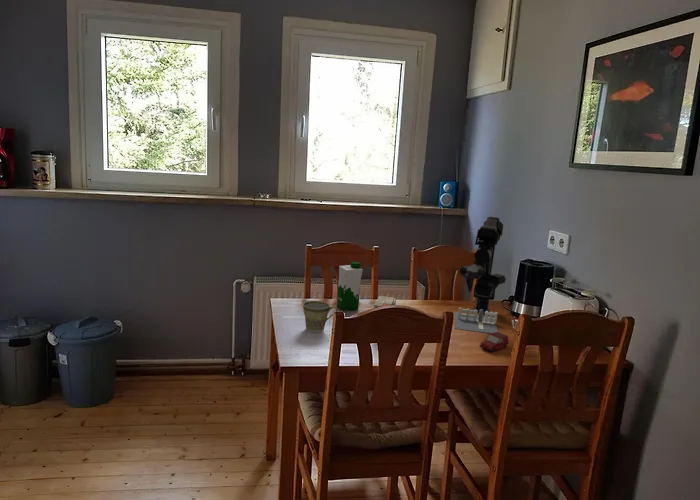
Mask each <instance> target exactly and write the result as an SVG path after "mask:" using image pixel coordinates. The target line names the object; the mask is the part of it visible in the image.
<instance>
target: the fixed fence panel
mask: <svg viewBox="0 0 700 500" xmlns="http://www.w3.org/2000/svg"><path fill="white" fill-rule="evenodd" d="M483 311H484V310H482V309H480V312H478V315H479V319H478V322H482V319H483V316H485V317H484V322H487V320H489V322H490V323H491V322H492V321H494V323H496V324H497V319H498V312H497V311H494V312H493V311H489V312H488V311H486V312H485V313H484V312H483ZM488 316H490V317H488ZM492 317H494V318H492Z"/></svg>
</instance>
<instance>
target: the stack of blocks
mask: <svg viewBox="0 0 700 500" xmlns="http://www.w3.org/2000/svg"><path fill="white" fill-rule="evenodd" d="M396 300H397V298H395V297H393V296H392V297H390V296H383V295H379V296H378V298H377V299H376V301H375V303H374V305H373V309H374V308H378V307H382V306H392V305H395V306H396V302H397V301H396Z"/></svg>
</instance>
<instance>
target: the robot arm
mask: <svg viewBox="0 0 700 500" xmlns="http://www.w3.org/2000/svg"><path fill="white" fill-rule="evenodd" d="M503 232H504V223H502V222H501V221H500V218H498V217H495V216H494V217H493V216H488V217H486V220H485V221H484V222H483V225H482V226H481V225H480V227H479V228H478V229H477V232H476V238H475V243H474V245H477V247H478V248H477V249H476V251H475V253H474V261H473V264H472V265H464V266H461V267H460V268H459V270H458V274H461V277H463V278H464V279H465V281H466V285H467V290H468V292H469V293H470V292H472V290H473V296H472V297H473V298H476V302H475V306H474V307H473V309H474V311H475V310H477V311H478V313H479V312H480V309H482V310H484V311H483V314H485V312H486V311H488V312H489V313H490V309H489V307H490V306H489V305H490V301H493V300H495V299H496V298H495V297H496V289H497V288H498V287H499V285H502V284H504V283H506V280H507V279H506V276H505V275H502V274H499V273H494V274H492V270H493V266H494V265H493V264H494V259H495V251H496V246H497V245H498V243H499V242H500V240H501V237H502V236H503V234H504V233H503ZM474 280H476V283H474V282H475V281H474ZM473 286H474V288H473Z"/></svg>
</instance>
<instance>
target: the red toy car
mask: <svg viewBox="0 0 700 500" xmlns="http://www.w3.org/2000/svg"><path fill="white" fill-rule="evenodd" d="M508 344H509V336H508V335H507V334H504V333H502V332H499V331H498V332H494V333H491V334H490V333H488V336H487V337H486V338H484V340H483V341H481V342H480V345H478V346H479V347H480V348H482V349H484V350H486V351H489V352H492V353H494V352H496V350H498V349H501V348H504V349H506V348H507V346H508Z"/></svg>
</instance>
